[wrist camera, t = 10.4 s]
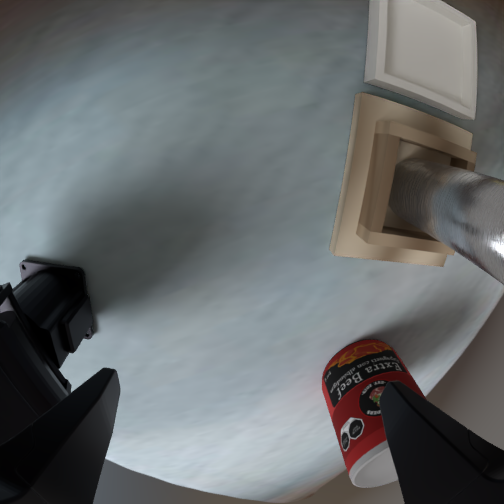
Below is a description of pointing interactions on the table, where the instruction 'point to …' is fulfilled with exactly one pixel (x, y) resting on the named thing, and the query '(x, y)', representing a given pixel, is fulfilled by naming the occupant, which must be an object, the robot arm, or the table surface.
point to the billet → (453, 209)
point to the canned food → (363, 407)
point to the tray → (423, 53)
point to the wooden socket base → (391, 180)
